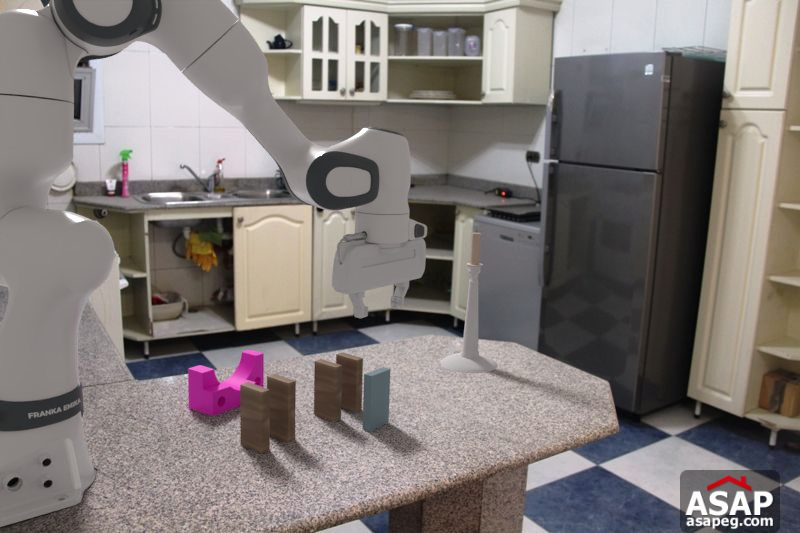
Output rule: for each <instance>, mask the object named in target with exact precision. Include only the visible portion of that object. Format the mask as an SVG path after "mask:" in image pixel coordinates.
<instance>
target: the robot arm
mask: <svg viewBox="0 0 800 533" xmlns="http://www.w3.org/2000/svg"><path fill="white" fill-rule="evenodd" d="M135 42H143V43H147V44H149V45H151V46H153V47H154V48H156V49H158V50H159V51H160V52H161V53H162V54H165V56H167V57H168V58H169V60H170V62H172V63H173V65H175V67H176V68H177V69H178V70H179V71H180V72H181V73H182V75H183V76H184V77H185V78H186V79H187V80H188V81H189V82H190V83H191V84H193V85H194V87H196V88H197V89H198V90H199V91H201V93H202V94H203V95H204V96H206V97H207V98H208V99H210V100H211V101H212V102H214V104H215V103H216V105H218V106H219V108H220V107H221V109H223V110H225V111H226V112H227V113H229V114H230V115H231V116H232V117H234V118H235V119H236V120H238V121H239V122H240V123H241V125H242V126H243V127H245V128H246V130H248V132H249V133H250V134H251V135H252V136H253V138H255V140H256V141H257V142H258V143H259V144H260V145H261V147H262V148H263V149H264V150H265V151H266V153H268V155H269V156H270V157H271V158H272V159H273V161H274V162H275V163H276V165H277V167H278V169H279V172H280V175H281V177H282V181H283V184H284V185H285V189H286V190H287V191H288V193H289V194H290V196H291V197H292V198H293V199H295V201H297V202H299V203H301V204H303V205H305V206H312V207H315V208H319V209H322V210H325V211H328V212H329V211H331V212H336V211H342V210H346V209H351V208H354V233H347V234H344V235H343V236H342V238H341V239H340V240H339V242H337V245H336V250H335V254H334V257H333V258H334V259H333V266H332V273H331V274H332V275H331V287H332V288H333V290H334V292H336V293H339V294H344V295H348V299H350V302H351V303H352V306H353V316H354V318H358V319H363V318H366V317H368V316H369V306H366V305H365V303H364V299H363V298H365V297H366V295H365V293H366V292H367V291H371V290H375V289H380V288H383V287H388V286H392V285H394V286H395V290H394V292H393V296H390V307H391V308H394V309H399V308H402V307H404V304H405V297H406V294H407V293H408V292H407V291H408V290H409V289H410V281H413V280H417V279H421V278H422V277H423V275H424V273H425V269H426V258H427V243H426V241H425V239H424V238H426V237H427V234H428V226H427V225H426V224H424V223H421V222H418V221H417V220H414V219H412V218H410V211H411V210H410V206H409V202H408V201H409V200H408V198H409V196H408V195H409V191H410V189H411V183H412V182H411V179H412V178H411V175H412V174H411V173H412V172H411V171H412V169H411V168H412V165H411V164H412V163H411V153H410V152H411V150H410V144H409V141H408V139H407V138H406V137H405V135H404V134H402V133H400V132H398V131H395V130H393V129H392V130H391V129H389V128H388V129H387V128H384V127H383V128H381V127H380V128H379V127H377V126H376V127H375V126H365V127H363V128H361V129H360V130H359V131H358V132H357V133H356V134H354V135H352V136H350V137H349V138H347V139H346V140H343V141H341V142H338V143H336V144H333V145H330V146H329V147H324V146H322V145H320V144H318V143H315V142H313V141H311V140H309V138H307V136H305V135H304V134H303V133H302V131H301V130H300V129H299V127H298V126H297V125H296V124H295V123H294V122H293V121H292V120H291V118H290V117H289V116H288V115H287V114H286V112H285V111H284V110H283V109H282V107H281V106H280V105H279V103H277V101H276V100H275V98H274V96H273V94H272V91H271V88H270V82H269V64H268V59H267V57H266V56H265V54H264V52H263V50H262V48H261V46H259V43H258V42H257V41H256V38H254V36H253V35H252V33H251V32H250V31H249V30H248V29H247V27H246V26H245V25H244V24H243V23H242V22H241V20H240V19H239V18H238V17H237V16H236V14H234V13H233V11H232V10H231V8H229V7H228V6H227V5H226V4H225V3H224V2H223V1H222V0H49V2H48V4H47V5H45V7H42V8H40V9H35V10H31V9H24V8H21V9H20V8H13V9H12V8H11V9H9V10H4V11H0V287H4V288H5V287H6V288H7V291H8V300H7V305H6V310H5V313H4V316H3V318H2V320H1V321H0V528H2V527H5V526H8V525H12V524H16V523H19V522H22V521H26V520H28V519H29V520H30V519H33V518H35V517H39V516H42V515H46V514H50V513H53V512H56V511H60V510H63V509H66V508H71V507H74V506H76V505H78V504H80V503H81V502H82V499H83V495H84V493H85V491H86V490H88V488H89V487H90V486H91V485H92V483H94V481H95V479H96V474H97V472H96V470H95V467H94V465H93V463H92V460H91V456H90V452H89V450H88V446H87V441H86V437H85V432H84V425H83V416H84V411H85V410H84V408H85V407H84V406H85V405H84V392H83V383H82V381H81V380H80V379H79V376H80V375H79V330H80V329H79V328H80V324H81V318H82V315H83V312H84V309H85V306H86V304H87V302H88V301H89V299H90V297H91V296H92V294H93V293H94V292H95V291H97V289H99V288H100V287H101V286H103V284H104V283H106V282H107V280H108V278H109V276H110V275H111V273H112V271H113V267H114V265H115V257H116V254H115V252H116V251H115V250H116V249H115V244H114V241H113V238H112V236H111V233H110V232H109V230H108V229H107V228H106V227H105V226H104V225H102V224H101V223H99V222H97V221H95V220H93V219H90V218H89V217H86V216H84V215H81V214H78V213H75V212H73V211H68V210H60V209H50V208H47V203H48V201H47V200H48V197H49V195H50V193H51V192H50V191H51V189H52V187H53V185H54V183H55V181H57V178H58V177H59V176H60V175H62V174H63V173H65V172H66V171H67V170H68V169H69V168H70V167H71V165H72V162H73V159H74V143H75V142H74V139H75V138H74V136H75V133H74V131H75V130H74V128H75V127H74V125H75V123H74V122H75V117H74V116H75V115H74V114H75V112H74V111H75V104H74V103H75V88H74V87H75V75H76V71H77V70H76V69H77V67H78V64H79V63H83V62H88V61H95V60H103V59H106V58H111V57H113V56H115V55H118V54H119V53H121V52H122V51H124V50H125V49H127V48H128V47H129V46H130V45H132V44H133V43H135Z"/></svg>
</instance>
